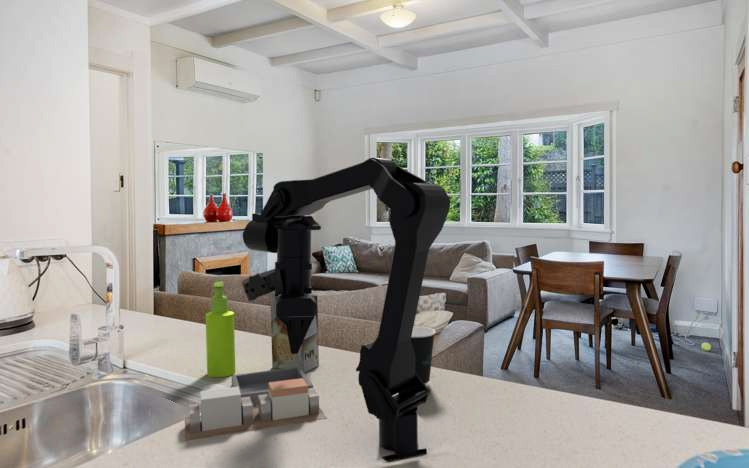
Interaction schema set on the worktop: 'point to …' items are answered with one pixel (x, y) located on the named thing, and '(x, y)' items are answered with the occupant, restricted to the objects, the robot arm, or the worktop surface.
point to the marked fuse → (288, 398)
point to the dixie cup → (423, 350)
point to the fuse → (220, 408)
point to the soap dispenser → (220, 336)
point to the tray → (265, 381)
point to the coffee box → (281, 348)
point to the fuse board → (251, 417)
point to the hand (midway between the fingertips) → (293, 345)
